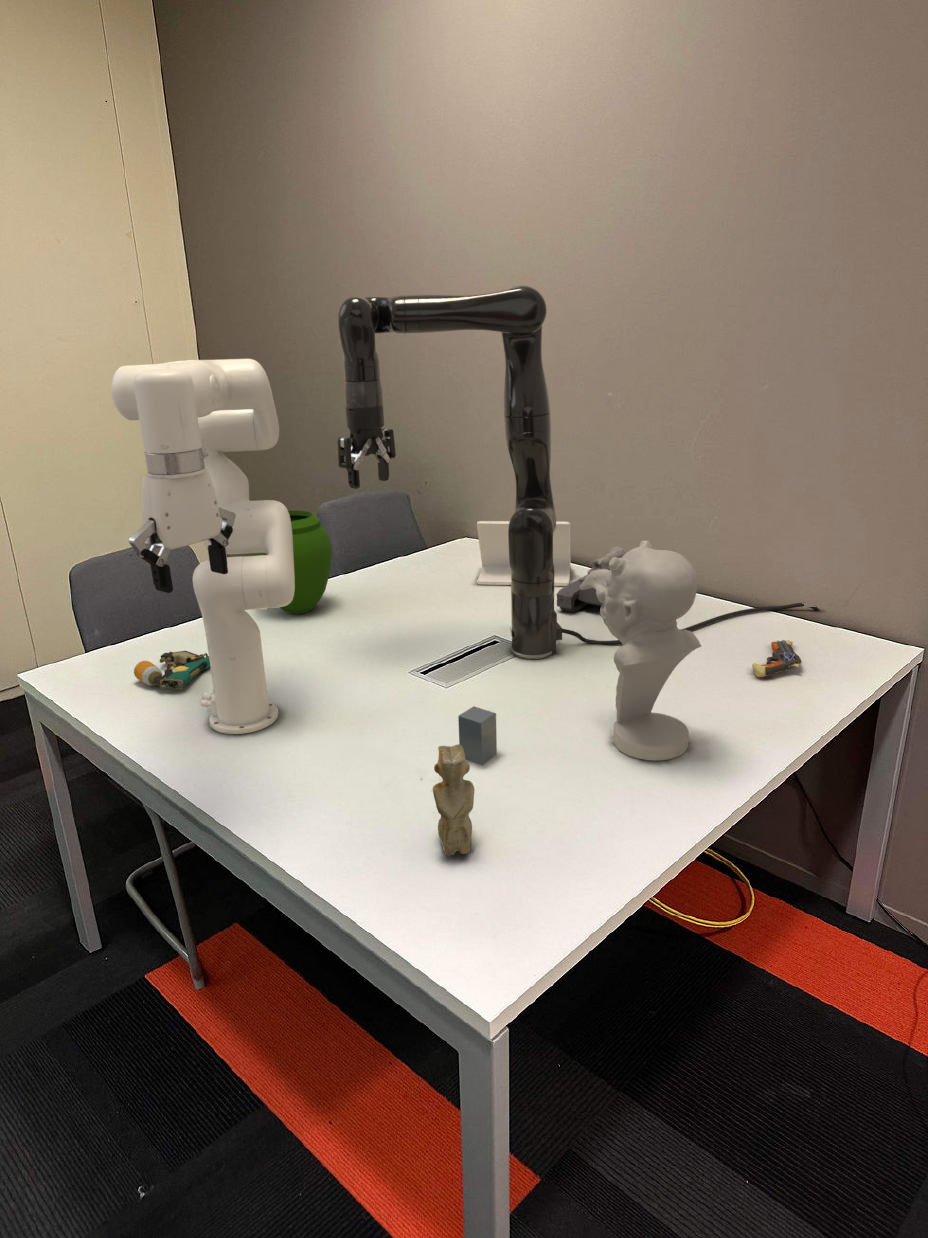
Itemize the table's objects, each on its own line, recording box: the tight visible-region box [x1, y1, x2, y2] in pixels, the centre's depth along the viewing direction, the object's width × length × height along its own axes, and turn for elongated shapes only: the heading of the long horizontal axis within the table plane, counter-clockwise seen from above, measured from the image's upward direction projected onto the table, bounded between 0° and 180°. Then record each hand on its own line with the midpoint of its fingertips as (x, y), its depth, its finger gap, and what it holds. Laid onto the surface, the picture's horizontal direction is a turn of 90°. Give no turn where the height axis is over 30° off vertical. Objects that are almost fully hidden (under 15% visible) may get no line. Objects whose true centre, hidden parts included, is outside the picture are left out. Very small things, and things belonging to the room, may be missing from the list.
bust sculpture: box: [579, 540, 702, 761], centre depth 146 cm, size 16×24×35 cm
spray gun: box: [133, 650, 210, 690], centre depth 180 cm, size 4×17×15 cm
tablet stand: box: [476, 520, 572, 587], centre depth 236 cm, size 18×25×17 cm
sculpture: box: [432, 743, 475, 856], centre depth 119 cm, size 6×7×15 cm
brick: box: [457, 705, 498, 766], centre depth 144 cm, size 4×5×8 cm
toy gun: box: [751, 639, 804, 678], centre depth 178 cm, size 3×19×10 cm
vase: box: [252, 510, 333, 615], centre depth 213 cm, size 20×20×24 cm
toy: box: [556, 546, 626, 613], centre depth 212 cm, size 25×20×15 cm
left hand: (192, 581), depth 123 cm, fingers open, 9 cm apart
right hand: (369, 484), depth 176 cm, fingers open, 8 cm apart
